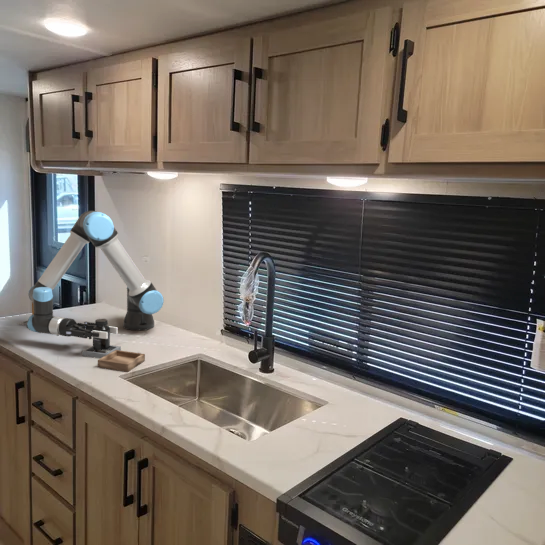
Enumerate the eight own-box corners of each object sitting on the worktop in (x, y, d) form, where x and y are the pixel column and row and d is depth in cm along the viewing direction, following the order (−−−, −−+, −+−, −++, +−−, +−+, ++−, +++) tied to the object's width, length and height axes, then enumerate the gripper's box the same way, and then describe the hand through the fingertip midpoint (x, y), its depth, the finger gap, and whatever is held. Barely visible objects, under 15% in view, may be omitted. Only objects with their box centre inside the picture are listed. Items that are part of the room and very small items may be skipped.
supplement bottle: (92, 350, 201) (91, 322, 199) (93, 345, 207) (93, 318, 205) (109, 350, 202) (109, 322, 200) (110, 345, 209) (110, 317, 207)
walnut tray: (116, 356, 202) (116, 349, 202) (144, 361, 199) (144, 353, 199) (97, 367, 190) (97, 359, 189) (128, 372, 187) (128, 364, 186)
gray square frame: (97, 347, 212) (97, 343, 211) (120, 351, 209) (120, 346, 209) (82, 355, 201) (82, 351, 201) (106, 359, 199) (106, 354, 198)
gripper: (78, 329, 218) (124, 335, 213) (48, 342, 199) (98, 349, 194) (77, 312, 216) (124, 318, 211) (47, 324, 198) (98, 330, 192)
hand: (112, 333), depth 202 cm, fingers closed on supplement bottle, 7 cm apart
